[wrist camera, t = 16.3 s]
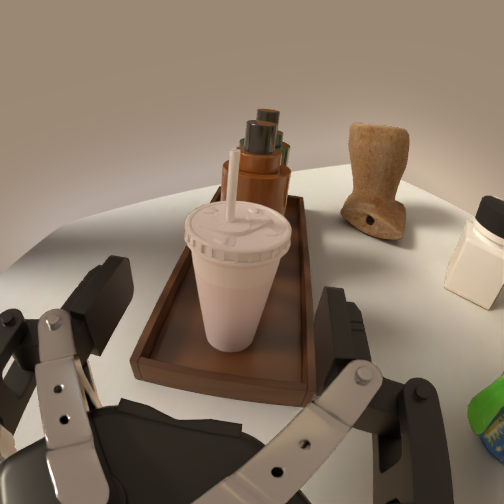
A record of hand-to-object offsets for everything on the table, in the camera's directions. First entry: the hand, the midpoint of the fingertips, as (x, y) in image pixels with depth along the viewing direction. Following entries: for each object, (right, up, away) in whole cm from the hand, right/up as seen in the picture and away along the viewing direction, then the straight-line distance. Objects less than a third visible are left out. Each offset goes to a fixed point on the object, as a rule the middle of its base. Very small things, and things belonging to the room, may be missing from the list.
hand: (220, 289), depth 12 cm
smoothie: (0, -5, +11) cm, 12 cm away
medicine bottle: (+29, -3, +20) cm, 36 cm away
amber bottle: (+1, +1, +20) cm, 20 cm away
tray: (+1, 0, +20) cm, 20 cm away
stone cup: (+19, +7, +34) cm, 40 cm away
